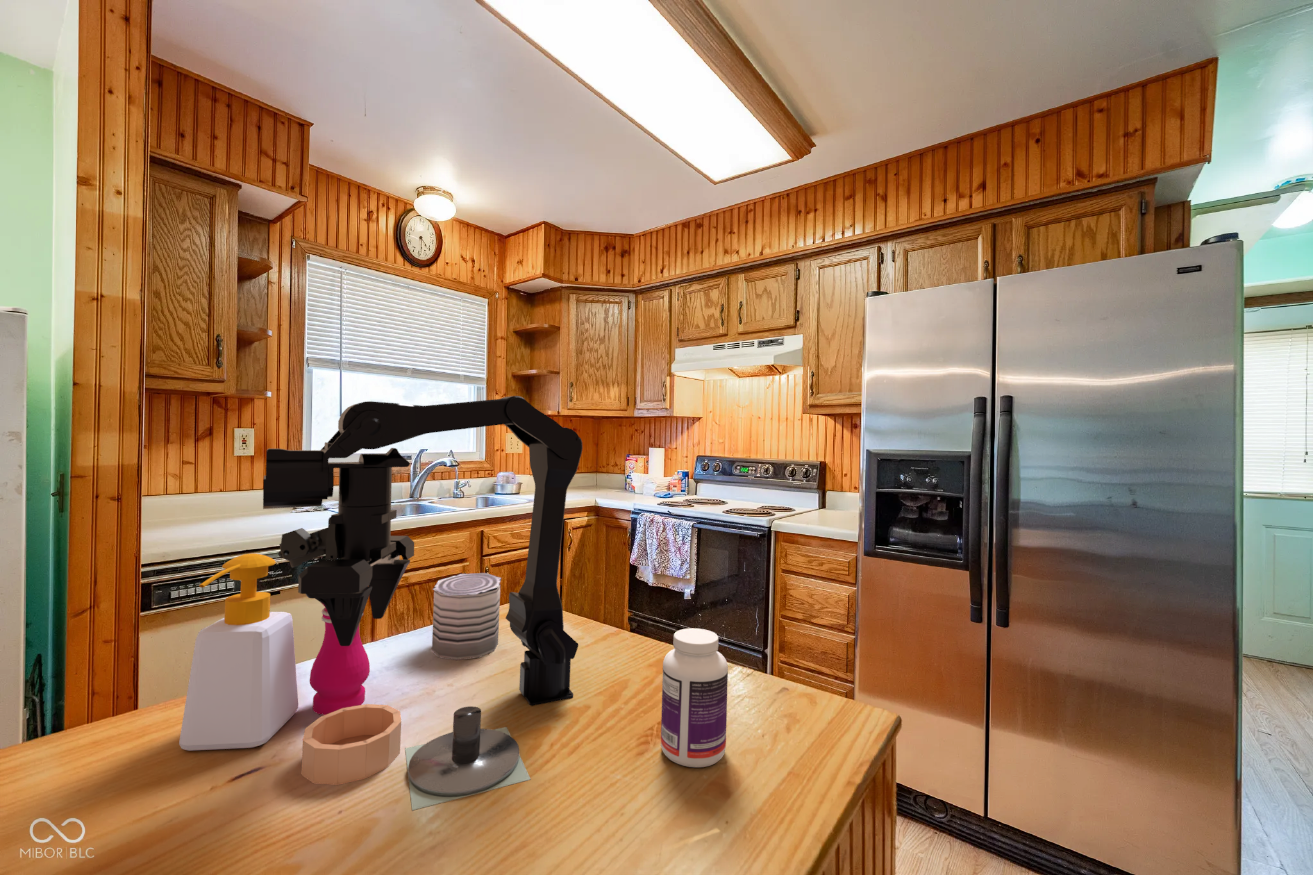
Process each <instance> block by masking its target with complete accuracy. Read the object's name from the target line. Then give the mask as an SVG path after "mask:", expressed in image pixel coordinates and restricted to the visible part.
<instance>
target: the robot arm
mask: <svg viewBox="0 0 1313 875" xmlns="http://www.w3.org/2000/svg"><path fill="white" fill-rule="evenodd" d="M337 424H338V425H337V428H338V430H337V431H336V432H335V433H334V435H333V436H332V437H331V438H330V439H329V440H328V441H327V442H324V446H323V447H321V449H318V450H316V449H314V450H311V449H310V450H309V449H306V450H305V449H303V450H300V449H298V450H295V449H292V450H291V449H285V448H268V449H266V457H265V458H266V459H265V460H266V461H265V475H263V481H262V483H263V484H262V485H263V486H262V488H263V489H262V490H263V492H262V509H263V510H271V509H272V510H273V509H292V508H313V507H323V506H322V505H323V500H329V499H328V498H333V496H334V488H335V487H334V486H335V484H334V482H335V481H334V479H335V478H334V476H335V474H334V473H335V472H334V470H335V469H338V507H337V508H338V510H337V511H338V512H337V513H334V514H331V515H330V517H329V518H328V520H327V521H328V522H327V523H328V525H327V527H326V528H322V529H319V530H317V531H314V532H308V531H307V530H306V529H305V528H303V527H301V528H298V529H295V530H292V531H289V532H286V533H282V535H281V538H280V539H281V540H280V543H279V549H280V550H279V551H278V556H279V557H280V558H281V559H284V560H285V561H287V562H289V564H290V567H291V568H295V567H298V566H301V565H302V564H303V563H306V562H308V561H310V560H313V559H317V558H319V557H322V556H325V558H324V559H322V560H319V561H317V562H315V563H313V564H311V565H308V566H307V567H306V568H304V569H303V571H301V572H300V573H299V574H298V581H297V582H298V588H297V590H298V591H297V592H298V593H299V594H300V595H305V596H306V597H307V598H308V599H315V600H317V601H318V602H320V603H321V605H322V606H323V607H324V606H325V607H324V608H326V610H327V612H328V614H329V616H330V619H331V622H332V625H333V627H334V630H335V633H336V636H337V639H338V641H339V644H340V646H350V645H351V644H352V641H353V639H354V636H355V634H356V631H357V628H358V626H359V627H360V623H361V621H362V620H361V619H362V617H363V616H362V614H363V615H364V611H365V608H366V606H367V603H368V600H369V598H370V609H371V614H372V618H373V619H374V620H381V619H382V618H384V616H385V614H386V612H387V609H388V607H389V604H390V602H391V601H392V599H393V596H394V595H395V592H396V590H397V589H398V586H399V583H400V582H401V579H402V578H403V576H404V573H405V572H406V570H407V568H408V566H409V565H410V563H411V560H410V559H411V558H413V557H414V556H415V541H414V540H413V539H412V538H410V537H409V535H391V532H392V527H391V524H392V520H394V519H397V509H392V481H393V480H392V479H393V478H392V476H393V475H392V474H393V468H408V467H409V466H410V464H411V463H410V461H408V460H407V459H406V458H405V457H404V456H402V455H401V453H400V452H399V450H398V448H395V447H391V448H390V449H389V450H388V451H387V452H386V453H361V454H360V455H359V459H358V461H347V462H346V461H345V462H344V461H340V462H336V461H335V462H333V461H332V462H329V459H346V458H348V457H351V456H353V455H354V454H355V453H356V454H357V452H359V451H361V450H362V449H364V450H376V449H381V448H384V447H387V446H391V445H394V444H397V443H400V442H405V441H408V440H411V439H414V438H416V437H419V436H422V435H426V434H433V433H440V432H441V433H443V432H449V431H459V430H466V429H467V430H469V429H475V428H485V427H492V426H493V427H494V426H499V425H504V426H505V427H507V428H508V430H509V431H511V433H512V434H513V435H514V436H515V437H516V439H518V440H519V442H521V443H522V444H524V445H525V446H527V447H528V452H529V454H528V455H529V466H530V470H531V475H532V478H533V481H534V495H533V497H534V498H533V504H532V514H531V523H530V533H529V542H528V550H527V559H526V567H525V568H526V570H525V578H524V582H523V584H522V586H521V587H520V589H519V591H518V592H514V591H510V592H509V595H508V601H509V602H508V605H509V606H508V611H507V614H506V616H505V619H506V620H507V621H508V622H509V627H510V630H511V631H512V632H511V633H513V634H514V635H515V636H516V637H517V638H518V639H519V640H520V642H521V645H522V646H523V647H524V648H525V647H526V648H527V649H528V650H524V656H523V657H524V658H523V659H524V660H523V661H522V662H520V666H519V667H520V668H519V691H520V693H521V695H522V696H523V697H524V698H525V700H526V702H527V703H528V705H529V706H530V707H533V706H539V705H543V704H549V703H554V702H555V703H556V702H559V701H565V700H568V699H573V698H574V692H572V690H571V689H570V688H571V687H570V686H571V663H572V661H571V660H573V659H575V657H576V654H577V651H578V648H579V643H578V642H577V641H576V640H575V639H574V638H573V637H572V636H571V635H569V634H568V633H567V631H566V630H564V629H565V628H564V626H565V625H564V610H563V605H562V600H561V597H560V593H559V589H558V577H559V576H558V575H559V567H560V558H561V548H562V547H561V546H562V538H563V530H564V529H563V528H564V521H565V519H564V518H565V511H566V508H565V507H566V503H567V502H566V501H567V492H568V488H569V486H570V485H571V482H572V481H573V479H574V478H575V476H576V474H577V472H578V469H579V464H580V461H581V457H582V453H583V448H584V447H583V441H582V438H581V437H580V436H579V434H578V433H577V432H576V431H574V430H573V429H572V428H569V427H563V426H561V424H560V423H558V422H557V421H555V419H553V418H551V417H550V416H548V415H546V414H545V413H543V412H542V411H540V410H539V409H537V408H536V407H535V406H533V405H532V404H531V403H530V402H529V401H527V400H526V399H525V398H524V397H522V396H519V395H511V396H504V397H501V398H498V399H496V398H495V399H494V398H493V399H486V400H474V401H473V400H471V401H465V402H464V401H463V402H452V403H441V404H431V405H429V404H428V405H417V404H409V403H408V404H407V403H398V402H397V403H396V402H385V401H384V402H382V401H372V400H371V401H363V402H358V403H355V404H352V405H350V406H348V407H347V408H345V409H344V411H343V412H342V413H341V414H340V416H339V419H338V423H337ZM400 556H401V557H402V559H400V558H401V557H400Z"/></svg>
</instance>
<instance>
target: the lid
mask: <svg viewBox="0 0 1313 875" xmlns="http://www.w3.org/2000/svg"><path fill="white" fill-rule="evenodd" d="M481 721H482V709H481V708H480V707H476V706H471V705H469V706H463V707H461V708H458V709H456V710H455V711H454V713H453V722H452V723H453V724H452V726H453V727H452V732H448V733H445V734H443V735H440V736H437V737H434V738H433V739H431V740H430V741H427V742H426V743H424V744H425V745H423V744H422V745H423V746H422V747H421V748H419V749H418V750H417V751H416V752H415V753H414V755H413V756H412V758H411V760H410V762H409V771H408V770H407V776H408V777H409V778H408V782H409V781H410V782H411V784H412V785H413V786H414V787H415V788H416V789H417V790H419V791H421V792H423V793H425V794H428V795H432V796H438V797H460V796H466V797H468V796H467V795H470V796H472V795H471V794H474V795H476V794H475V793H478V794H480V793H479V792H482V791H485V790H487V789H490V788H492V787H494V786H496V785H497V784H499V783H501V782H502V781H504V780H505V779H506V778H508V777H509V776H510V775H511V774H512V773H513V771H514V770H515V768H516V767H517V765H518V762H519V755H520V747H519V744H518V742H517V741H516V739H514V737H512V736H509V735H507V734H505V733H503V732H500V731H496V730H494V729H491V728H481V727H482V726H481V724H482V722H481ZM482 793H483V792H482Z"/></svg>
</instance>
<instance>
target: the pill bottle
mask: <svg viewBox="0 0 1313 875" xmlns="http://www.w3.org/2000/svg"><path fill="white" fill-rule="evenodd" d="M672 641H673V642H672V643H673V644H672V645H673V649H671V650H669V652H667V653H666V655H665V656H664V659H663V661H662V688H661V719H660V720H661V723H660V726H661V727H660V747H661V750H662V752H663V754H664V755H665V757H666V758H668V760H670V761H672V762H673V763H675V764H677V765H679V766H683V767H688V768H704V767H710V766H712V765H715V764H716V763H718V762H719V761H720V760H721V759H722V758H723V756H724V754H725V753H726V748H727V721H728V720H727V718H728V715H727V714H728V713H727V712H728V680H729V679H728V678H729V676H728V674H729V666H728V662H727V659H726V658H725V656H724V655H723V654H722V653H721V652H719V651H718V650H719V635H717V633H716V632H714V631H711V630H710V629H709V630H707V629H704V628H696V627H695V628H692V627H689V628H683V629H679V630H677V631H675V633H673V640H672Z"/></svg>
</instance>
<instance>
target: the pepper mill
mask: <svg viewBox="0 0 1313 875" xmlns="http://www.w3.org/2000/svg"><path fill="white" fill-rule="evenodd" d="M323 607H324V608H323V609H322V610H321V614H322V616H321V621H322V622H324V629H325V630H324V636H323V639H322V643H321V646H320V649H319V651H318V653H317V655H316V657H315V659H314V661H313V663H312V666H311V669H310V674H309V684H310V687H311V689H313V690H314V691H315V692H316V693H314V695H313V698H312V711H313V712H314V713H315V714H318V715H321V716H324V715H327V714H329V713H332V712H334V711H337V710H339V709H342V708H347V707H352V706H358V705H364V702H365V701H366V687H365V686H364V685H363V684H364V683H365V682H366V680H367V679H368V678H369V676H370V672H371V669H370V668H371V667H370V666H371V664H370V660H369V656H368V653H367V651H366V650H365V647H364V645H363V642H362V639H361V636H360V625H359V626H358V628H357V631H356V634H355V636H354V639H353V641H352V644H351V645H350V646H340V644H339V641H338V639H337V636H336V633H335V630H334V627H333V625H332V622H331V619H330V616H329V614H328V612H327V610H326V608H325V606H324V605H323ZM363 616H364V613H363V614H362V617H363Z"/></svg>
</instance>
